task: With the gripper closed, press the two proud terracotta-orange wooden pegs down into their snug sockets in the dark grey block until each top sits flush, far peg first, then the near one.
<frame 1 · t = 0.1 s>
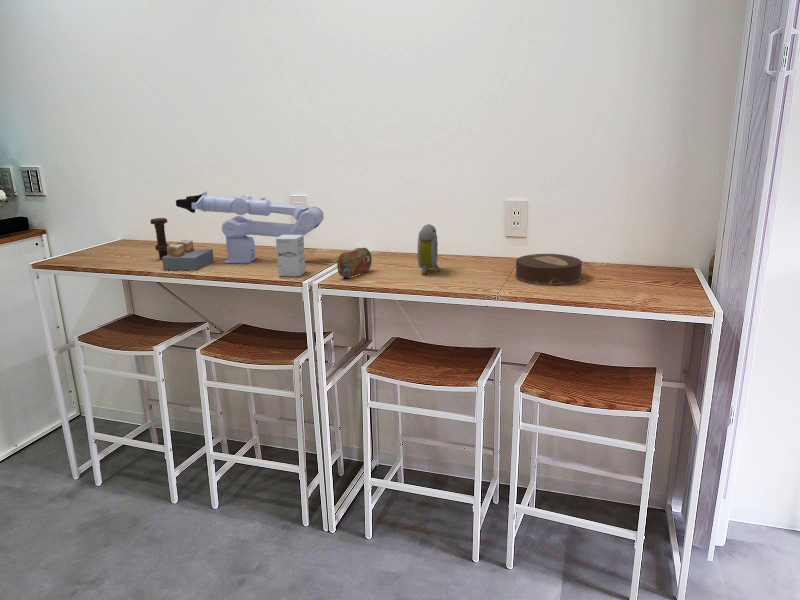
hand: (181, 201, 226), 22 cm above the table, tool horizontal, fingers open, 7 cm apart
tin: (355, 275, 205), on the table
peg near: (175, 251, 219), point 6 cm above the table, slide at 0.0 cm
peg far: (185, 247, 226), point 6 cm above the table, slide at 0.0 cm
socket block: (189, 265, 224), on the table
bolt: (164, 259, 236), on the table
container: (547, 278, 196), on the table
grey upright figure: (430, 272, 206), on the table
supplement box: (292, 274, 208), on the table
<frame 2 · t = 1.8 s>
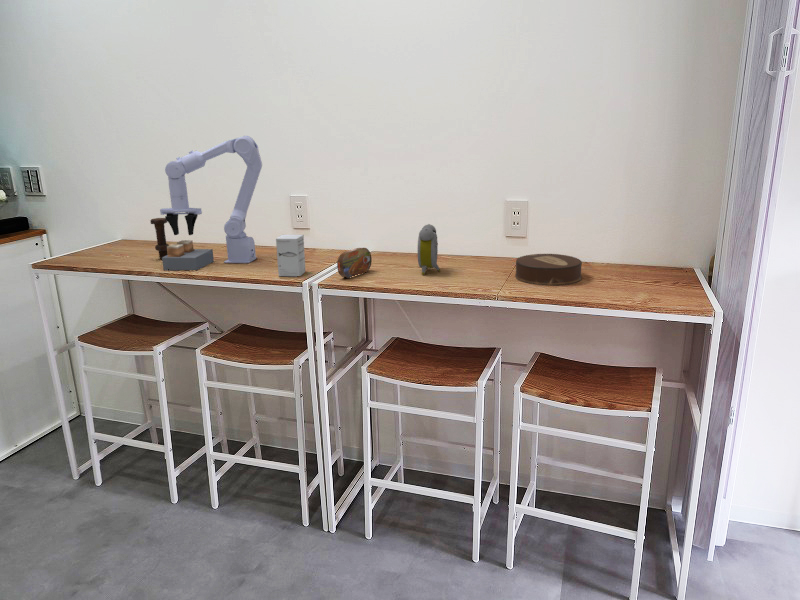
hand: (183, 234, 225), 10 cm above the table, tool pointing down, fingers open, 5 cm apart
nothing on the table moved.
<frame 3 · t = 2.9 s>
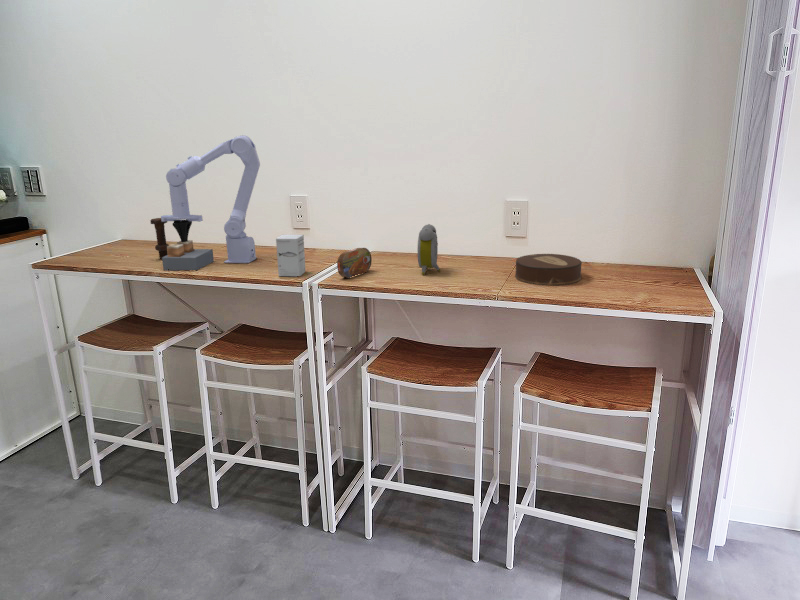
hand: (184, 241, 225), 8 cm above the table, tool pointing down, fingers closed, pressing on peg far
peg far: (185, 247, 226), point 6 cm above the table, slide at 0.0 cm, touching gripper
everything else where it was.
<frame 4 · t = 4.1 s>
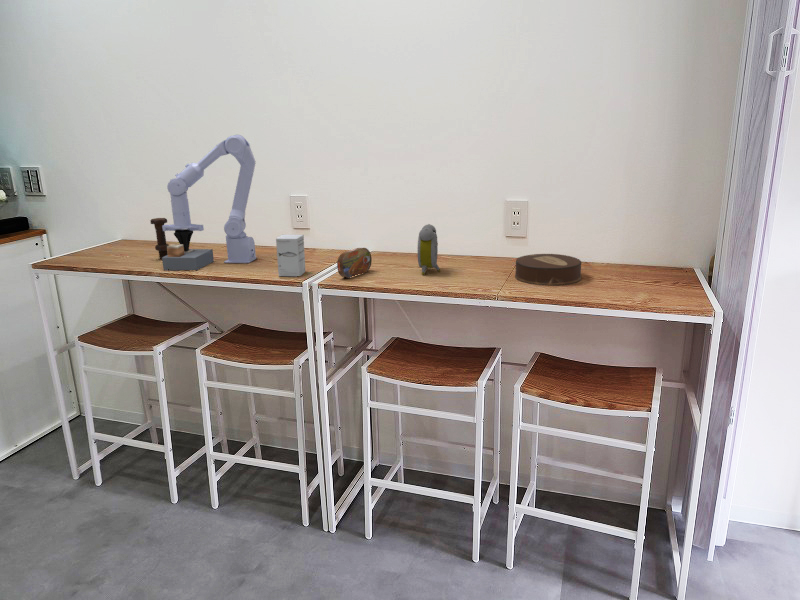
hand: (185, 250, 226), 5 cm above the table, tool pointing down, fingers closed
peg far: (186, 256, 227), point 2 cm above the table, slide at 3.4 cm
everything else where it was.
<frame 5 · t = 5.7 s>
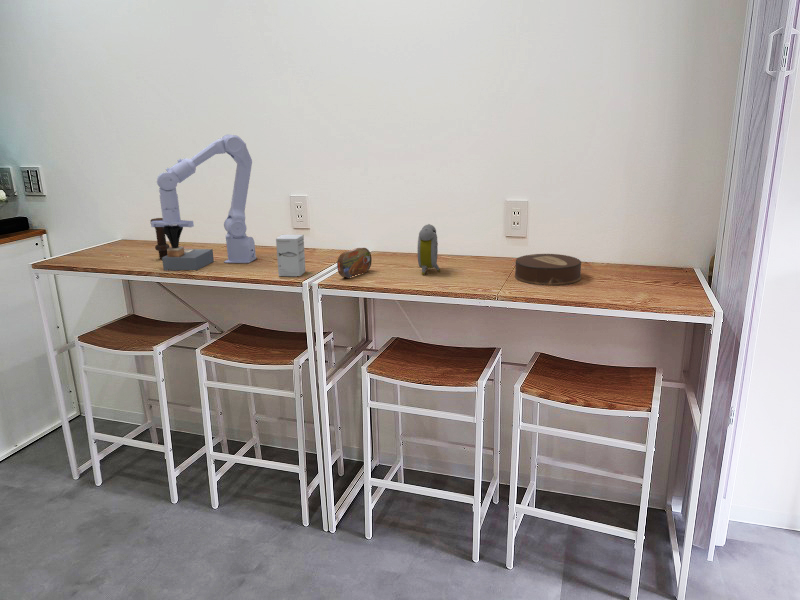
hand: (175, 247, 219), 7 cm above the table, tool pointing down, fingers closed, pressing on peg near
peg near: (176, 253, 220), point 5 cm above the table, slide at 0.8 cm, touching gripper
everything else where it was.
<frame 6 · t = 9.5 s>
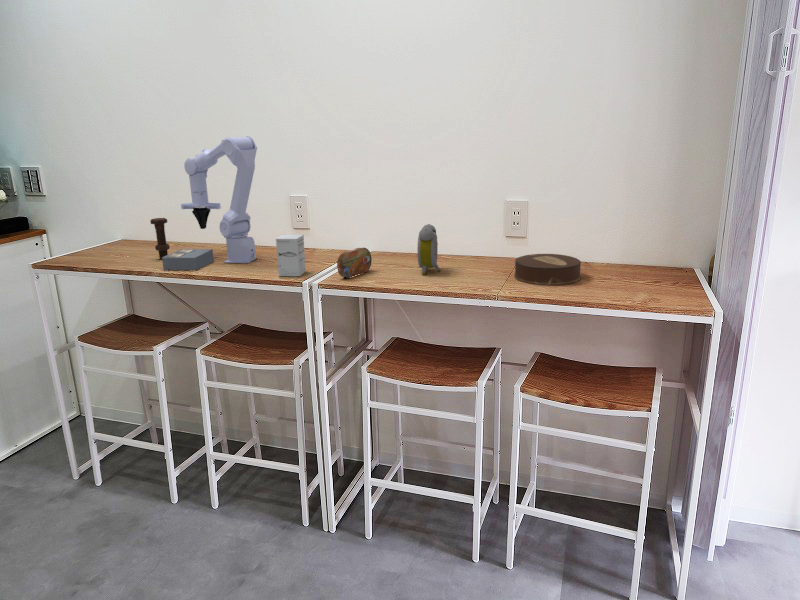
hand: (203, 228, 236), 10 cm above the table, tool pointing down, fingers closed
peg near: (177, 261, 220), point 2 cm above the table, slide at 3.4 cm
everything else where it was.
at the end: peg far slide at 3.4 cm; peg near slide at 3.4 cm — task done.
